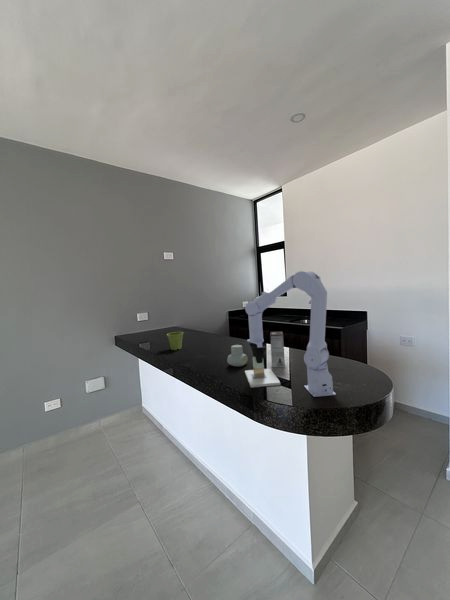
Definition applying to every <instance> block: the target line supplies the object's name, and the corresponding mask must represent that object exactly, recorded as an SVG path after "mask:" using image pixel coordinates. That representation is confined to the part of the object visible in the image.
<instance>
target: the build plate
mask: <svg viewBox="0 0 450 600" xmlns="http://www.w3.org/2000/svg"><path fill="white" fill-rule="evenodd" d="M244 374H245V377H246V380H247V382H248V384H249V387H250V388H260V387H272V386H273V387H274V386H281V382H280V380H279V378H278V377H277V375H276V374H275V373H274V372H273V371H272V369H271V368H264V374H265V377H260V378H255V376H254V370H253V369H248V370H244Z"/></svg>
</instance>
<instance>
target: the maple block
mask: <svg viewBox="0 0 450 600" xmlns="http://www.w3.org/2000/svg"><path fill="white" fill-rule="evenodd" d="M252 368H253V369H252V370H254V376H255V378H260V377H265V374H264V369H265V367H264V368H257V369H255V368H254V367H252Z"/></svg>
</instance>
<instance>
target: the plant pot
mask: <svg viewBox="0 0 450 600" xmlns="http://www.w3.org/2000/svg"><path fill="white" fill-rule="evenodd" d="M166 336H167V339H168V342H169V345H170V350H171V351H178V350H177V349H179V350H181V349H182V347H183V346H182V345H183V344H182V343H183V337H184V332H183V331H174V332H169V333H167V334H166Z"/></svg>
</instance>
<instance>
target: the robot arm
mask: <svg viewBox="0 0 450 600" xmlns="http://www.w3.org/2000/svg"><path fill="white" fill-rule="evenodd" d="M292 289H298V290H300V291H302V292H304V293H305V294H306V295H308V296H309V297H310V298H311V299H310V300H311V302H310V319H309V320H310V321H309V322H310V324H309V326H310V327H309V340H308V343H307V346H306V351H305V353H304V355H303V361H304V364H305V365H306V372H307V373H306V375H307V376H306V377H307V385H304V386H303V387H304V388H305V389H306V390H307V391H308V392H309V394H311V396H313V398H314V397H316V398H317V397H327V396H336V395H337V394H336V392H335V391H334V386H333V384H334V383H333V376H332V374H331V373H330V372H329V366H328V362H327V361H328V360H329V357H330V352H329V350H328V343H327V342H326V341H325V340H326V338H325V337H326V324H327V323H326V322H327V305H328V304H327V303H328V302H327V301H328V291H327V290H326V287H325V286H324V284H323V282H322V280H321V276H319V275H318V274H316V273H315V272H313V271H302V270H300V271H297V272H295V273H294V274H292V275H291V276H289V277H288V278H287V279H285V280H284V281H283V282H282V283H281V284H279V285H278V286H277V287H275V288H274V289H272V290H271V291H269V290H266V291H262V292H261V294H260V295H259V296H258V297H255V298H254V299H253V301H248V302H247V303H246V304H245V307H244V310H245V313H246V314H247V315H248V330H249V339H247V343H248V344H249V346H250V349H251V352H252V357H256V361H257V363H262V361H264V354H265V351H266V348H267V347H266V346H265V345H264V346H263V343H264V341H265V340H264V330H263V318H262V317H263V313H264V311H265V310H266V309H268V308H269V307H271V306H272V305H274V304H275V303H276V300H277V298H278V297H280V296H282V295H284V294H285V293H287V292H289V291H290V290H292Z"/></svg>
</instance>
